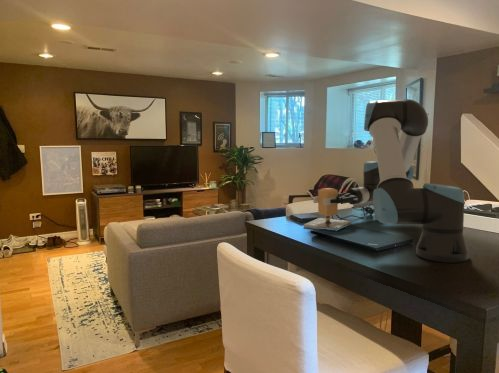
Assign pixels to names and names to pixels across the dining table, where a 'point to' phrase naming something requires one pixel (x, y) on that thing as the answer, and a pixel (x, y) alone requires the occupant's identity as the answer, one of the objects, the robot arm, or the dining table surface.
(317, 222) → the plate
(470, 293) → the dining table surface
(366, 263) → the dining table surface
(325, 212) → the wooden block
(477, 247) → the dining table surface
